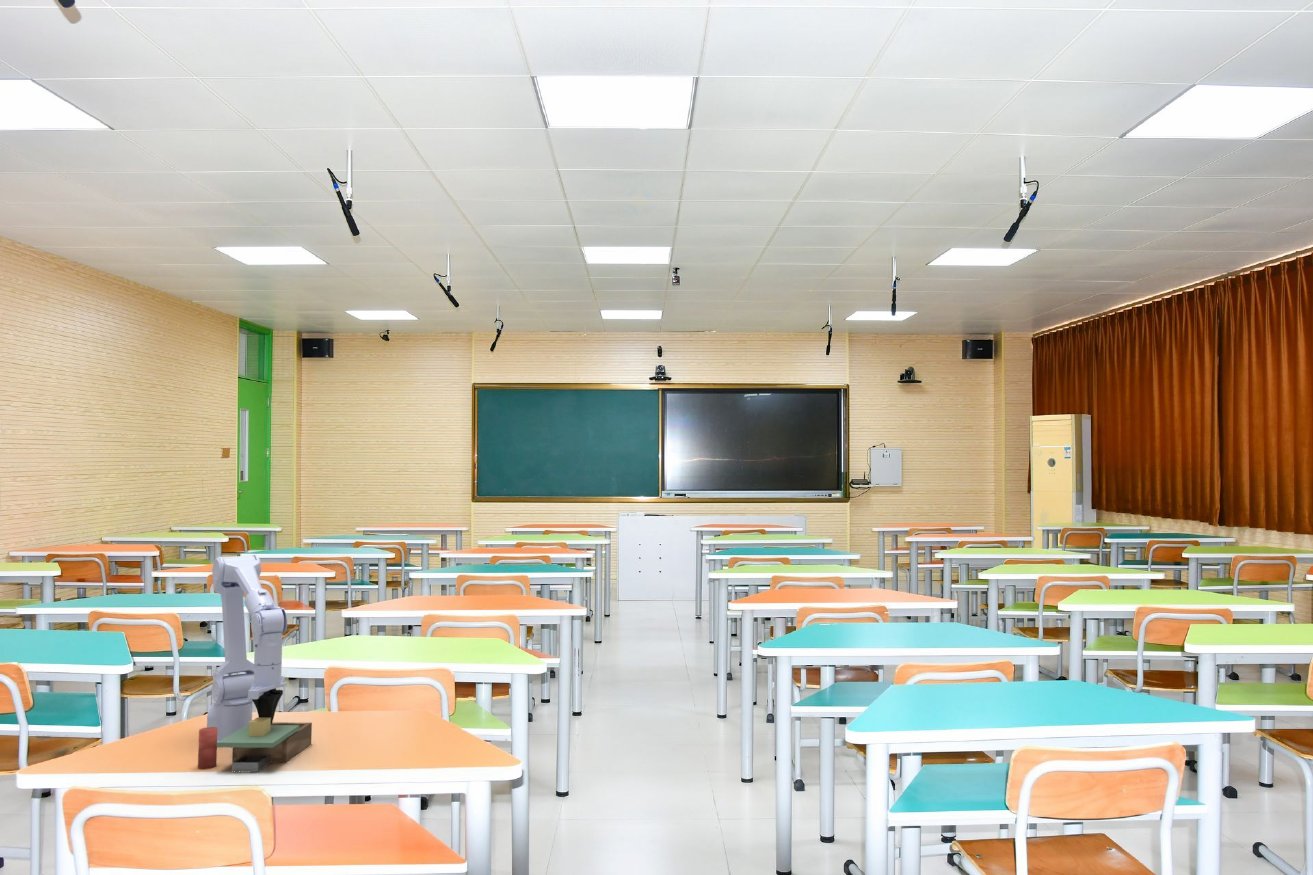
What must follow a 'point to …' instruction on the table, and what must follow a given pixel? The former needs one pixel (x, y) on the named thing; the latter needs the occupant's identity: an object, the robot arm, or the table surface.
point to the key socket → (251, 763)
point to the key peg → (207, 748)
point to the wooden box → (281, 745)
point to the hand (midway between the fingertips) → (266, 724)
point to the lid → (259, 734)
